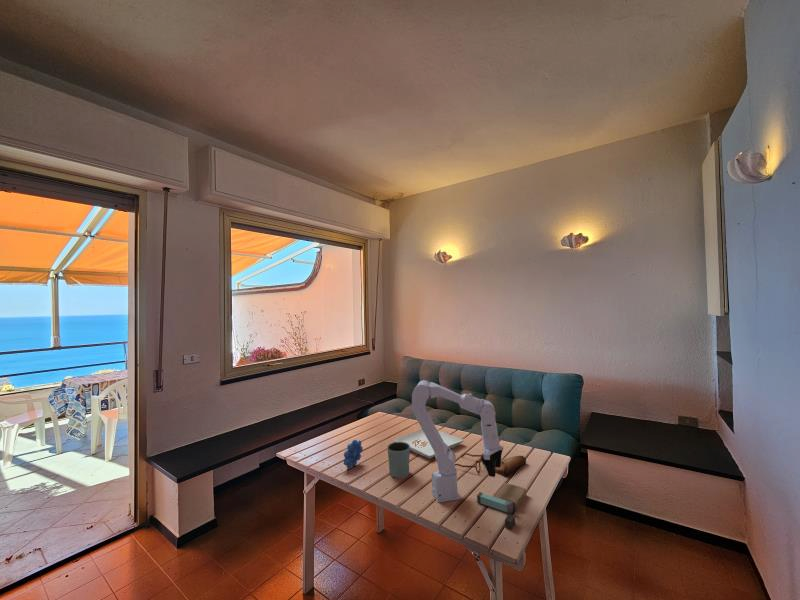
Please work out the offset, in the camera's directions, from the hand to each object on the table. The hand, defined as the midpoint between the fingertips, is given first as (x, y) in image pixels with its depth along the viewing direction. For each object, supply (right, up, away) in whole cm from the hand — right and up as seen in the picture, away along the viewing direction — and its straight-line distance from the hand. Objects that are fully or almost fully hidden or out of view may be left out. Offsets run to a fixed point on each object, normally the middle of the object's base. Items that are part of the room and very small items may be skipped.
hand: (494, 471), depth 120 cm
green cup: (-36, -13, +21) cm, 43 cm away
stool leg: (-1, -10, -5) cm, 11 cm away
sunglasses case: (+13, -12, +24) cm, 30 cm away
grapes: (-58, -14, +30) cm, 66 cm away
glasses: (-4, -12, +27) cm, 30 cm away
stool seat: (+3, -10, -6) cm, 12 cm away
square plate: (-20, -14, +50) cm, 56 cm away
